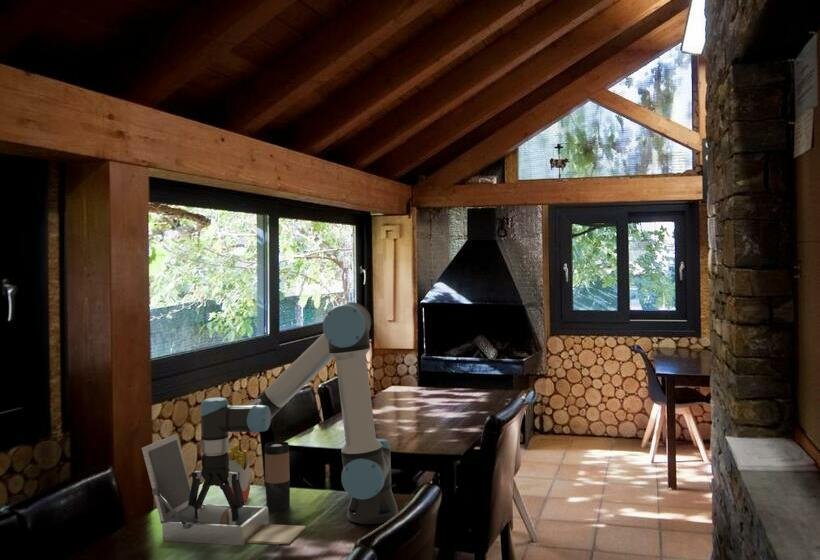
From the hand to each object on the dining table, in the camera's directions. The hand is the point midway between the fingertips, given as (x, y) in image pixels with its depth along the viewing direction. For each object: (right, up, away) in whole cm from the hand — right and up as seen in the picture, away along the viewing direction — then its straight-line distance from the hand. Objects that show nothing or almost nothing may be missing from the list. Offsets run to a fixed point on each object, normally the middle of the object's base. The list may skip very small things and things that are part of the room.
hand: (216, 531), depth 198 cm
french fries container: (0, -1, +28) cm, 28 cm away
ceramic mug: (0, -1, +1) cm, 1 cm away
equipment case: (-3, 0, 0) cm, 3 cm away
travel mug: (+14, 0, +21) cm, 25 cm away
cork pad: (+18, 0, -4) cm, 19 cm away
